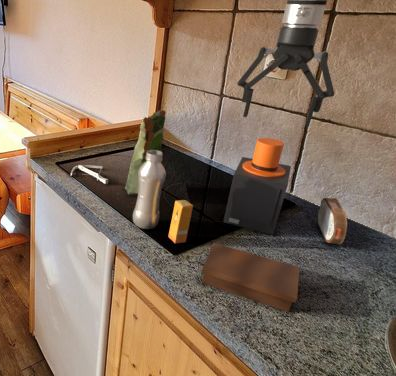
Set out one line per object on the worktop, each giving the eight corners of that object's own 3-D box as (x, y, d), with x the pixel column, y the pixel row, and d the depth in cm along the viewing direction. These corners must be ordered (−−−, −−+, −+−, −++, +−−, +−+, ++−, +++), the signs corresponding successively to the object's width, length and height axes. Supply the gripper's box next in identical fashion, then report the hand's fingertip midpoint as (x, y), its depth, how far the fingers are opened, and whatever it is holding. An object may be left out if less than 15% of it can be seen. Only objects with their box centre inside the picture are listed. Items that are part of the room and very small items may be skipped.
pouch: (153, 184, 127) (164, 105, 116) (167, 201, 116) (181, 116, 106) (119, 185, 126) (127, 106, 115) (130, 203, 115) (139, 117, 104)
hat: (286, 167, 105) (294, 139, 102) (283, 180, 97) (292, 151, 94) (245, 159, 110) (251, 133, 106) (239, 171, 102) (246, 143, 98)
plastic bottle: (138, 216, 108) (147, 145, 99) (162, 224, 104) (173, 152, 96) (127, 226, 103) (135, 152, 95) (151, 235, 100) (162, 159, 91)
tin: (341, 251, 95) (353, 220, 92) (326, 248, 96) (337, 217, 93) (326, 221, 108) (335, 193, 105) (312, 219, 109) (322, 191, 106)
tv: (277, 212, 112) (291, 165, 106) (272, 236, 101) (287, 185, 95) (232, 201, 117) (242, 156, 112) (222, 222, 106) (233, 174, 100)
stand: (294, 282, 84) (299, 267, 82) (291, 314, 75) (297, 297, 74) (210, 257, 92) (213, 242, 90) (199, 283, 83) (202, 267, 81)
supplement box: (187, 242, 97) (194, 205, 93) (174, 244, 96) (181, 207, 92) (180, 235, 100) (186, 199, 96) (167, 236, 99) (173, 200, 95)
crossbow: (62, 173, 135) (62, 167, 134) (92, 166, 141) (92, 160, 141) (90, 188, 123) (90, 182, 122) (122, 180, 129) (122, 174, 128)
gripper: (237, 23, 91) (219, 115, 101) (369, 31, 80) (335, 133, 90) (242, 22, 97) (224, 109, 106) (366, 29, 86) (334, 125, 95)
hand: (275, 120), depth 98 cm, fingers open, 13 cm apart
